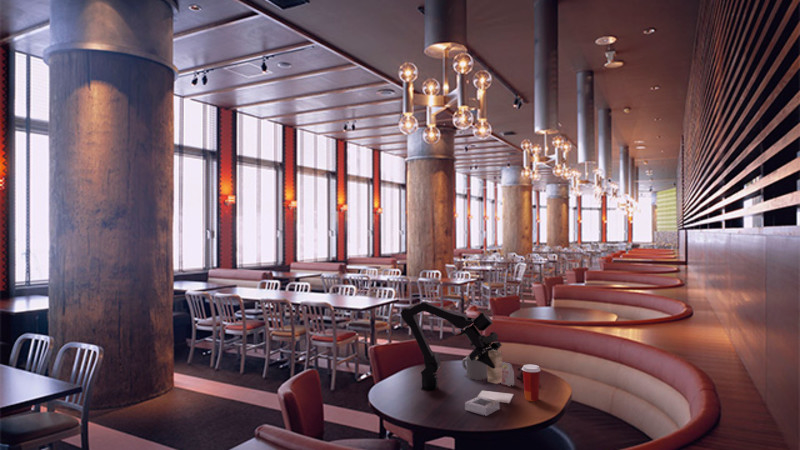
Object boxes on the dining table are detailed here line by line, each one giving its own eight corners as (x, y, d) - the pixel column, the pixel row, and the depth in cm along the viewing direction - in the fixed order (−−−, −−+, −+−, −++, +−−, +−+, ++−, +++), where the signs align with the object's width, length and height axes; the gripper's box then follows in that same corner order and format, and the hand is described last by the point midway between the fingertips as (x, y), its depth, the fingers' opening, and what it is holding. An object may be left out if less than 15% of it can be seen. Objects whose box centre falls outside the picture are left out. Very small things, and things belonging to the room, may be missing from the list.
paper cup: (541, 397, 213) (540, 364, 213) (540, 403, 206) (539, 369, 206) (522, 395, 216) (522, 363, 216) (521, 401, 208) (520, 368, 208)
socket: (465, 409, 199) (464, 402, 200) (478, 403, 207) (478, 396, 207) (486, 416, 193) (485, 408, 193) (499, 408, 200) (499, 401, 200)
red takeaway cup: (543, 371, 229) (524, 366, 243) (530, 369, 227) (512, 363, 241) (541, 386, 228) (522, 380, 242) (528, 384, 226) (510, 378, 240)
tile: (476, 399, 212) (476, 397, 212) (482, 391, 221) (482, 390, 221) (509, 403, 206) (509, 401, 206) (513, 395, 216) (513, 394, 216)
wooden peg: (487, 381, 214) (487, 351, 214) (493, 379, 217) (492, 349, 217) (496, 383, 210) (496, 353, 211) (502, 381, 214) (501, 351, 214)
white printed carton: (503, 381, 236) (502, 360, 236) (514, 384, 230) (513, 363, 230) (497, 383, 233) (497, 361, 234) (509, 386, 228) (508, 365, 228)
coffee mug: (491, 377, 242) (490, 357, 242) (476, 381, 237) (475, 360, 237) (472, 371, 253) (472, 351, 253) (458, 374, 248) (457, 354, 248)
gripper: (474, 330, 210) (497, 360, 202) (497, 323, 223) (519, 351, 216) (459, 345, 215) (481, 375, 207) (483, 338, 229) (504, 366, 221)
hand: (497, 366), depth 213 cm, fingers closed on wooden peg, 4 cm apart
